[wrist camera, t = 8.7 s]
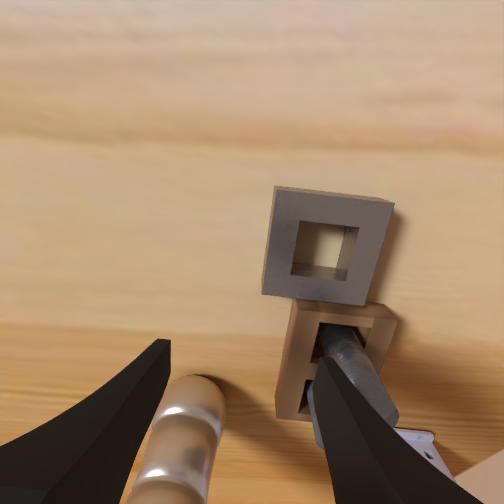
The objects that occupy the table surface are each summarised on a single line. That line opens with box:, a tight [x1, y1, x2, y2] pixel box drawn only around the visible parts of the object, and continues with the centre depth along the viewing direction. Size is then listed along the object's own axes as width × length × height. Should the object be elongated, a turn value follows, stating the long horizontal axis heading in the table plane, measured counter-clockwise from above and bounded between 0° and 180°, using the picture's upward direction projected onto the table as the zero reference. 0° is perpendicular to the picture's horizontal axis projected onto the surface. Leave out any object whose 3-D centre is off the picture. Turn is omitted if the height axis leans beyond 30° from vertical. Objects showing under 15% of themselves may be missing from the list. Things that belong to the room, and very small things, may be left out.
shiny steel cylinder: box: [317, 322, 399, 428], centre depth 19 cm, size 3×3×9 cm
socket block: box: [262, 186, 395, 306], centre depth 20 cm, size 8×8×2 cm
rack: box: [275, 298, 398, 450], centre depth 22 cm, size 8×12×6 cm, turn 174°
